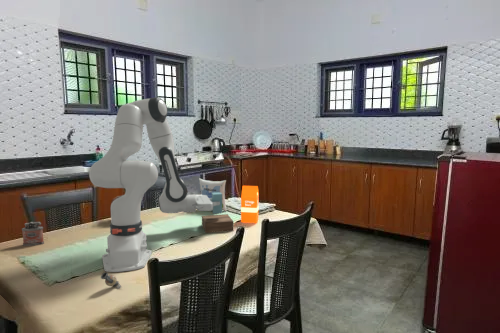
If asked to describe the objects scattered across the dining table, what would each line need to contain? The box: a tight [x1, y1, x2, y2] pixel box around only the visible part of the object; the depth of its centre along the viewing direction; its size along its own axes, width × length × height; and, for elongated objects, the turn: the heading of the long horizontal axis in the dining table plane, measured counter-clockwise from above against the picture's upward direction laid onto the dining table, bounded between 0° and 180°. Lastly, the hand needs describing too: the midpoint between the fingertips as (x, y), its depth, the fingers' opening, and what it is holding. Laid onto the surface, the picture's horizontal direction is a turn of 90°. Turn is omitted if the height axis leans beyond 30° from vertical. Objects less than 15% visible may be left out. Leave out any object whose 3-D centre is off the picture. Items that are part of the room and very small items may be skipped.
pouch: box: [198, 177, 228, 212], centre depth 208 cm, size 8×19×20 cm, turn 65°
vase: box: [100, 271, 123, 291], centre depth 108 cm, size 5×5×6 cm
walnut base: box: [201, 213, 234, 234], centre depth 173 cm, size 14×14×5 cm
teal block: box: [211, 192, 223, 215], centre depth 172 cm, size 4×4×10 cm
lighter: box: [21, 221, 45, 247], centre depth 147 cm, size 8×3×10 cm, turn 105°
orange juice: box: [240, 185, 260, 224], centre depth 185 cm, size 8×9×20 cm
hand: (218, 201), depth 172 cm, fingers closed on teal block, 4 cm apart
